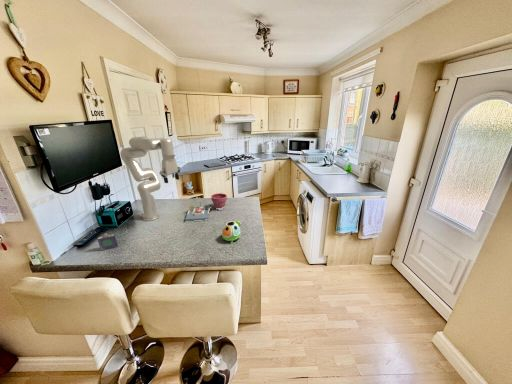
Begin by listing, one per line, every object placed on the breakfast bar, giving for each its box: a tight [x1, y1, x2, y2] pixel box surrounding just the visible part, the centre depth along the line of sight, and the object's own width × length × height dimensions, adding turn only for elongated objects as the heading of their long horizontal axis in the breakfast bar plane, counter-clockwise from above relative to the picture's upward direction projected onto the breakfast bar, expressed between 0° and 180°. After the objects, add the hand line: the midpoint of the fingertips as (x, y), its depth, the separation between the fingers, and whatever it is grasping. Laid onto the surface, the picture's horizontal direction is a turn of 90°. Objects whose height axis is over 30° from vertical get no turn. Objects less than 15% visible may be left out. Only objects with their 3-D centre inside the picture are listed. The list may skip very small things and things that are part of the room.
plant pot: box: [210, 192, 228, 209], centre depth 186 cm, size 14×14×13 cm
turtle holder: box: [221, 220, 242, 243], centre depth 141 cm, size 12×18×12 cm
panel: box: [185, 206, 212, 222], centre depth 175 cm, size 18×24×4 cm
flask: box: [97, 232, 119, 252], centre depth 128 cm, size 9×3×11 cm, turn 117°
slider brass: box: [189, 204, 195, 211], centre depth 178 cm, size 3×3×4 cm
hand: (172, 181), depth 143 cm, fingers open, 9 cm apart
